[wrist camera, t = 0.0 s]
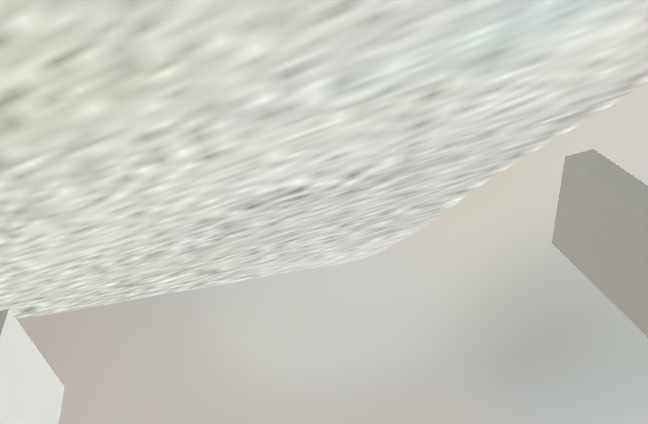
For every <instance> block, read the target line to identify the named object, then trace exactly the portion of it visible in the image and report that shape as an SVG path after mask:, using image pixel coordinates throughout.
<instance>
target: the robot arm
mask: <svg viewBox="0 0 648 424" xmlns="http://www.w3.org/2000/svg"><path fill="white" fill-rule="evenodd" d="M552 243H553V244H554V245H555V246H556V247H557V248H558V249H559V250H560V251H561V252H562V253H563V254H564V255H565V256H566V257H567V258H568V259H569V260H570V261H571V262H572V263H573V264H574V265H575V266H576V267H577V268H578V269H579V270H580V271H581V272H582V273H583V274H584V275H585V276H586V277H587V278H588V279H589V280H590V281H591V282H592V283H593V284H594V285H595V286H596V287H597V288H598V289H599V290H600V291H601V292H602V293H604V295H606V297H607V298H609V299H610V300H611V301H612V302H613V303H614V304H615V305H616V306H617V307H618V308H619V309H620V310H621V311H622V312H623V313H624V314H625V315H626V316H627V317H628V318H629V319H630V320H631V321H632V322H633V323H634V324H635V325H636V326H637V327H638V328H639V329H640V330H641V331H642V332H643V333H644V334H645V335H646V336H647V337H648V186H647V185H646V184H644V183H643V182H641V181H640V180H638V179H637V178H635V177H634V176H632V175H631V174H629V173H628V172H626V171H625V170H623V169H622V168H620V167H619V166H618V165H616V164H615V163H613V162H612V161H610V160H609V159H607V158H606V157H604V156H603V155H601V154H600V153H598V152H597V151H595V150H594V149H592V150H588V151H585V152H581V153H578V154H574V155H570V156H566V157H565V163H564V169H563V175H562V182H561V188H560V194H559V201H558V207H557V213H556V220H555V226H554V233H553V239H552ZM63 393H64V386H63V385H62V383H61V382H60V380H59V379H58V378H57V376H56V375H55V373H54V372H53V371H52V369H51V368H50V366H49V365H48V364H47V362H46V361H45V359H44V358H43V356H42V355H41V354H40V352H39V351H38V349H37V348H36V347H35V345H34V344H33V342H32V341H31V340H30V338H29V337H28V335H27V334H26V333H25V331H24V330H23V329H22V327H21V326H20V324H19V323H18V321H17V320H16V319H15V317H14V316H13V314H12V313H11V312H10V310H9V309H8V310H4V311H0V424H58V423H59V417H60V411H61V405H62V399H63Z"/></svg>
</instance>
